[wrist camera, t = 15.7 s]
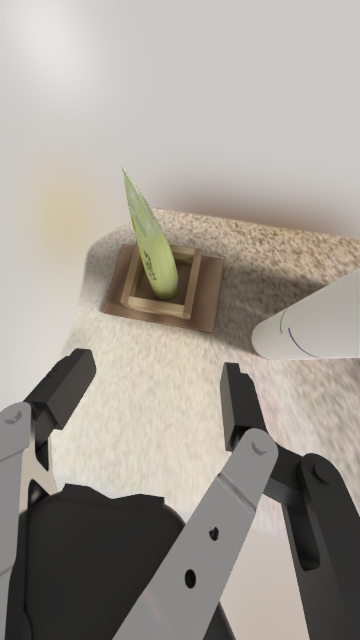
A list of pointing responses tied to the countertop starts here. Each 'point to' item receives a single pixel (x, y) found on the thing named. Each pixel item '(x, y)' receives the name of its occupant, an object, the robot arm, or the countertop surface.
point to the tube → (152, 244)
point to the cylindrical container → (315, 325)
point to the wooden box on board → (182, 310)
